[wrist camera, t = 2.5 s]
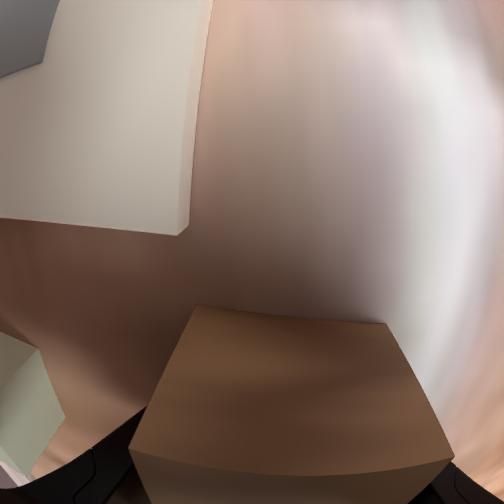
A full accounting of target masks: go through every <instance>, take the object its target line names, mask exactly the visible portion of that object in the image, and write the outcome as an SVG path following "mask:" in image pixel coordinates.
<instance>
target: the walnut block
mask: <svg viewBox="0 0 504 504" xmlns="http://www.w3.org/2000/svg"><path fill="white" fill-rule="evenodd" d="M128 449H129V452H130V454H131V457H132V459H133V462H134V464H135V467H136V469H137V472H138V474H139V477H140V479H141V481H142V484H143V486H144V488H145V490H146V492H147V495H148V497H149V499H150V501H151V503H152V504H408V503H409V502H410V501H411V500H412V499H413V498H414V497H415V496H417V495H418V494H419V493H420V492H421V491H422V490H423V489H424V488H425V487H426V486H427V485H428V484H429V483H430V482H431V481H432V480H433V479H434V478H435V477H436V476H437V475H438V474H439V473H440V472H441V471H442V470H443V469H444V468H445V467H446V466H447V465H448V464H449V462H450V461H451V460H452V459H453V458H454V457H455V456H454V453H453V451H452V449H451V447H450V444H449V442H448V440H447V438H446V436H445V434H444V431H443V429H442V427H441V425H440V423H439V421H438V419H437V417H436V415H435V413H434V411H433V409H432V407H431V405H430V403H429V401H428V399H427V397H426V395H425V393H424V391H423V389H422V387H421V385H420V383H419V381H418V380H417V378H416V376H415V374H414V372H413V370H412V368H411V367H410V365H409V363H408V361H407V359H406V357H405V356H404V354H403V352H402V350H401V349H400V347H399V345H398V343H397V342H396V340H395V338H394V336H393V335H392V333H391V331H390V329H389V328H388V326H387V324H379V323H362V322H347V321H333V320H321V319H309V318H298V317H288V316H279V315H269V314H260V313H252V312H244V311H236V310H228V309H220V308H213V307H206V306H199V305H196V307H195V309H194V311H193V313H192V315H191V317H190V319H189V321H188V323H187V325H186V327H185V329H184V331H183V333H182V335H181V337H180V339H179V341H178V343H177V345H176V347H175V349H174V351H173V354H172V356H171V358H170V360H169V362H168V364H167V366H166V368H165V370H164V372H163V374H162V376H161V378H160V381H159V383H158V385H157V387H156V389H155V391H154V393H153V395H152V397H151V400H150V402H149V404H148V406H147V408H146V410H145V412H144V415H143V417H142V419H141V421H140V423H139V425H138V428H137V430H136V432H135V434H134V436H133V438H132V441H131V443H130V445H129V447H128Z"/></svg>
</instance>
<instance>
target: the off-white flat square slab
mask: <svg viewBox="0 0 504 504" xmlns="http://www.w3.org/2000/svg"><path fill="white" fill-rule="evenodd" d="M213 1H214V0H0V218H9V219H20V220H30V221H41V222H51V223H61V224H71V225H81V226H91V227H100V228H110V229H120V230H129V231H139V232H148V233H158V234H167V235H176V236H177V235H178V234H179V233H181V232H182V231H183V230H184V229H185V228H186V227H188V226H189V215H190V197H191V181H192V167H193V154H194V143H195V132H196V122H197V112H198V103H199V94H200V86H201V78H202V70H203V63H204V56H205V49H206V42H207V36H208V30H209V24H210V18H211V12H212V6H213Z"/></svg>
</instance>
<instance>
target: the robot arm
mask: <svg viewBox="0 0 504 504" xmlns="http://www.w3.org/2000/svg"><path fill="white" fill-rule="evenodd" d="M147 406H148V405H147ZM147 406H146V407H144V408H143V409H142V410H141V411H139V412H138V413H137V414H135V415H134V416H133V417H132V418H130V419H129V420H128V421H126V422H125V423H124V424H122V425H121V426H120V427H118V428H117V429H116V430H114V431H113V432H112V433H110V434H109V435H108V436H106V437H105V438H104V439H102V440H101V441H100V442H98V443H97V444H96V445H94V446H93V447H92V449H88V450H87V451H86V452H84V453H83V454H82V455H80V456H78V457H77V458H75V459H74V460H72V461H71V462H69V463H68V464H66V465H64V466H62V467H60V468H59V469H57V470H55V471H53V472H51V473H49V474H47V475H45V476H43V477H41V478H38V479H36V480H34V481H32V482H30V483H28V484H25V485H23V486H20V487H16V488H8V489H1V488H0V504H152V503H151V501H150V499H149V497H148V495H147V492H146V490H145V488H144V486H143V484H142V481H141V479H140V477H139V474H138V472H137V469H136V467H135V464H134V462H133V459H132V457H131V454H130V452H129V449H128V447H129V445H130V443H131V441H132V438H133V436H134V434H135V432H136V430H137V428H138V425H139V423H140V421H141V419H142V417H143V415H144V412H145V410H146V408H147ZM408 504H504V501H502V500H500V499H499V498H497V497H496V496H494V495H493V494H491V493H490V492H489V491H487V490H486V489H484V488H483V487H481V486H480V485H479V484H477V483H476V482H475V481H473V480H472V479H471V478H470V477H468V476H467V475H466V474H465V473H464V472H463V471H461V470H460V469H459V468H458V467H456V465H455V464H454V463H452V462H451V461H450V462H449V464H448V465H447V466H446V467H445V468H444V469H443V470H442V471H441V472H440V473H439V474H438V475H437V476H436V477H435V478H434V479H433V480H432V481H431V482H430V483H429V484H428V485H427V486H426V487H425V488H424V489H423V490H422V491H421V492H420V493H419V494H418V495H417V496H415V497H414V498H413V499H412V500H411V501H410V502H409V503H408Z"/></svg>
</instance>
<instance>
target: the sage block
mask: <svg viewBox="0 0 504 504" xmlns="http://www.w3.org/2000/svg"><path fill="white" fill-rule="evenodd" d="M65 418H66V417H65V415H64V413H63V410H62V408H61V406H60V404H59V401H58V399H57V397H56V394H55V392H54V389H53V387H52V384H51V382H50V379H49V377H48V374H47V371H46V368H45V366H44V363H43V360H42V357H41V354H40V351H39V348H37V347H34V346H32V345H29V344H27V343H25V342H22V341H20V340H18V339H16V338H13V337H11V336H9V335H7V334H5V333H3V332H1V331H0V460H2V461H3V462H4V463H6V464H7V465H9V466H10V467H11V468H13V469H14V470H16V471H17V472H19V473H20V474H22V475H23V476H25V477H28V475H29V473H30V472H31V470H32V468H33V467H34V465H35V464H36V462H37V460H38V459H39V457H40V456H41V454H42V453H43V451H44V450H45V448H46V446H47V445H48V443H49V442H50V440H51V439H52V437H53V436H54V434H55V433H56V431H57V430H58V428H59V427H60V425H61V424H62V422H63V421H64V419H65Z"/></svg>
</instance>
